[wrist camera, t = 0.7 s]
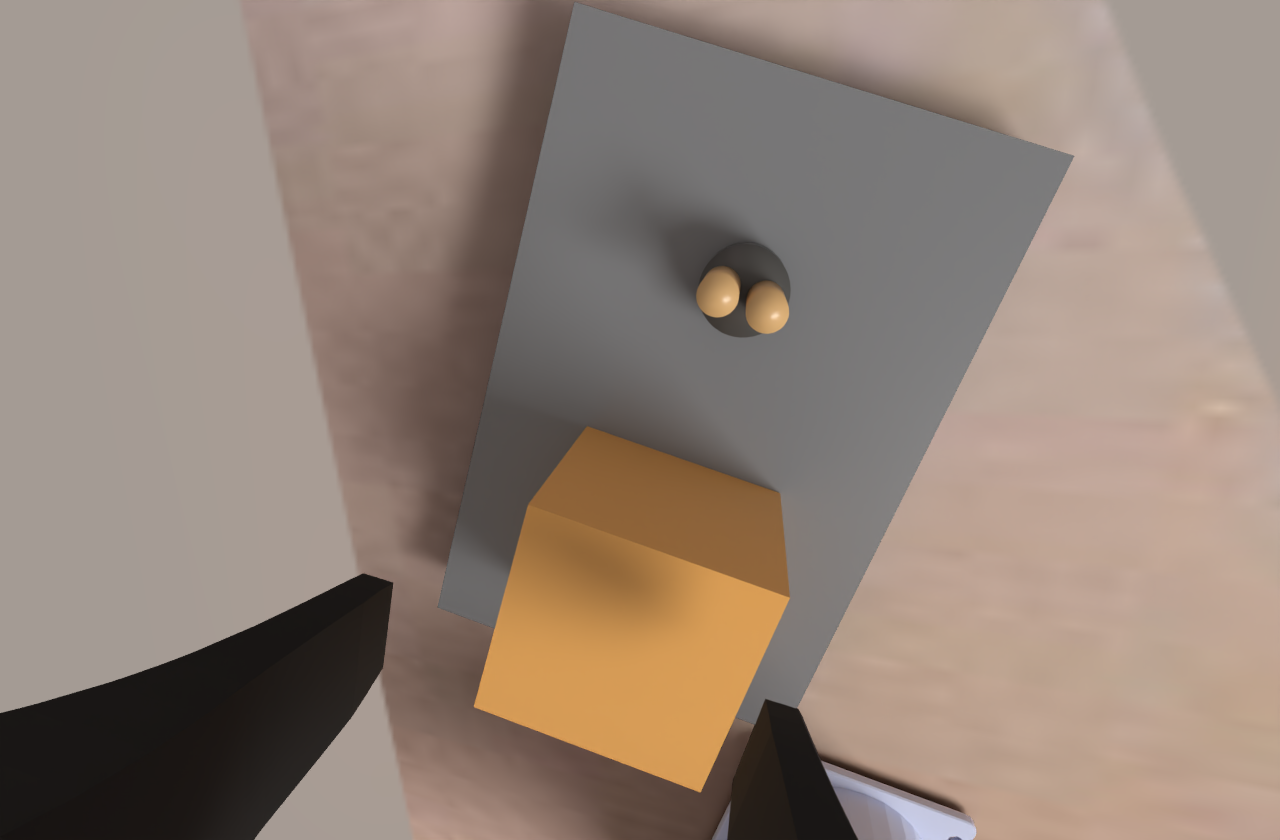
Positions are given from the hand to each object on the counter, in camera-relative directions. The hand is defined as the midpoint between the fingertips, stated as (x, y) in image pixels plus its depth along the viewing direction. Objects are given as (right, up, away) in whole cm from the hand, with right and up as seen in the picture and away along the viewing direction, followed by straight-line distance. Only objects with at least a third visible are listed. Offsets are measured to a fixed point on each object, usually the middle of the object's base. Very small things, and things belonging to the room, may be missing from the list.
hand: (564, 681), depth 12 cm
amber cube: (+2, +1, +7) cm, 8 cm away
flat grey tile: (+3, +5, +8) cm, 10 cm away
